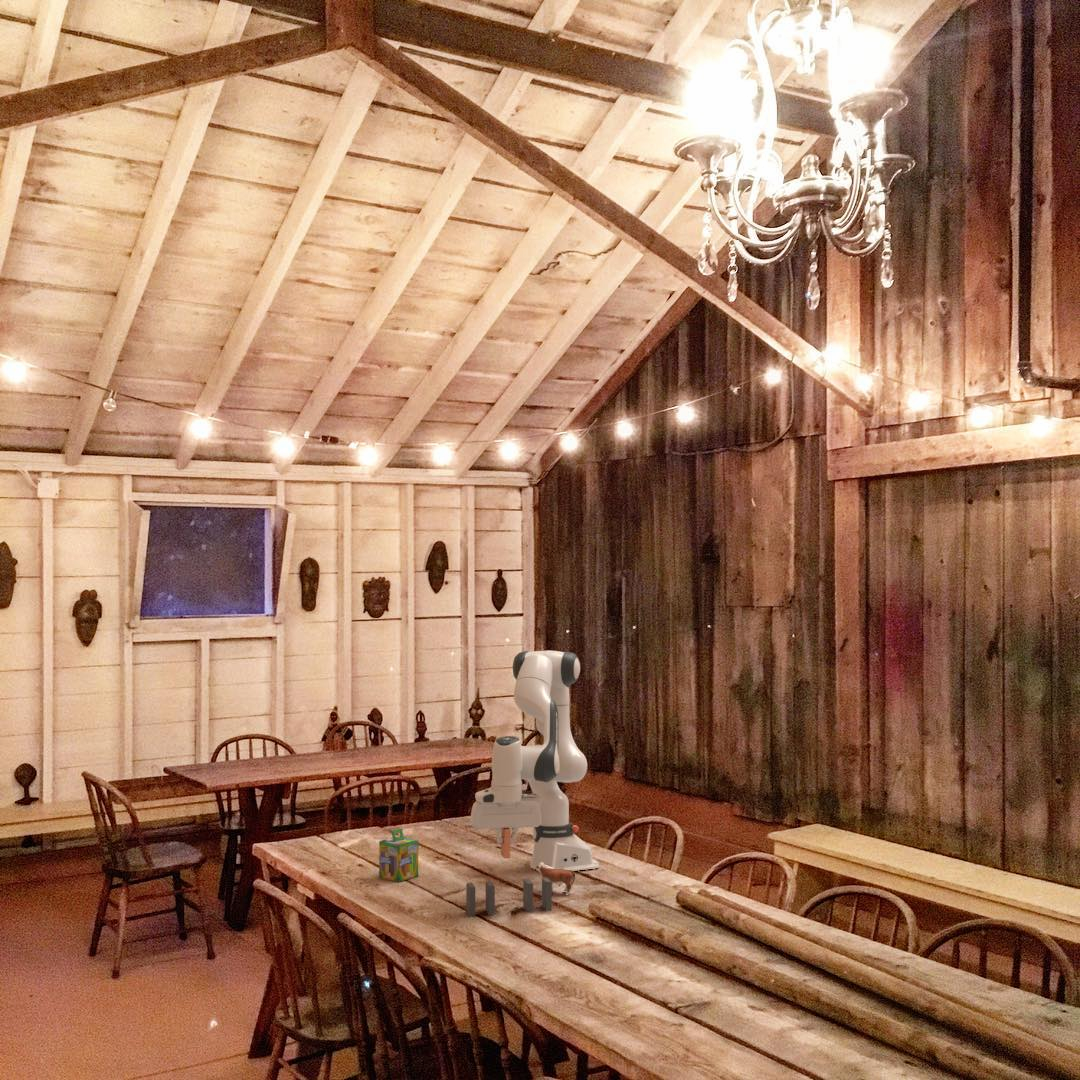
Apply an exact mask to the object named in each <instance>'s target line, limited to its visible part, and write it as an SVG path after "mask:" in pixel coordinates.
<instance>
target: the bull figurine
mask: <svg viewBox="0 0 1080 1080" xmlns="http://www.w3.org/2000/svg"><path fill="white" fill-rule="evenodd" d="M536 868H537V870H536V872H539V874H540V875H541V879H542V878H546V877H547V878H548V879H549V880H550V881H551V882H552V890H553V889H554V887H553V884H556V885H558V887H561V885H562V884H563V883H564V884H565V889H564V890H563V891H567V892H565V895H566V894H568V895H570V894H571V890H572V889H573V887H574V882H575V880H576V874H575V872H573V871H572V870H564V869H556V868H553V867H549V865H548V864H546V865H544V863H543V862H541V863H539V865H537V866H536ZM553 891H554V890H553Z"/></svg>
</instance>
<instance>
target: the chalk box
mask: <svg viewBox="0 0 1080 1080" xmlns="http://www.w3.org/2000/svg"><path fill="white" fill-rule="evenodd" d="M397 834H399V836H396V835H397ZM391 836H392V837H390V838H386V839H383V840H380V841H378V843H379V844H378V845H379V847H378V848H379V850H378V852H379V853H378V854H379V855H378V858H379V859H378V861H379V862H378V864H379V866H378V867H379V868H378V869H379V871H378V878H379V877H380V878H379V879H382V878H384V880H387V881H388V880H389V881H394V882H398V883H401V882H404V881H406V880H407V881H408V880H411V879H414V878H413V877H415V878H418V877H419V842H420V841H419V840H417V839H413V838H409V837H404V832H403V828H396V829H395V830H392V831H391ZM417 876H418V877H417Z"/></svg>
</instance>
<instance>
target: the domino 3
mask: <svg viewBox="0 0 1080 1080" xmlns="http://www.w3.org/2000/svg"><path fill="white" fill-rule="evenodd" d="M500 833H501V834H500V837H503V838H504V840H503V842H504V843H503V844H500V855H501V856H502V858H503V859H511V844H510V836H511V828H500Z"/></svg>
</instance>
